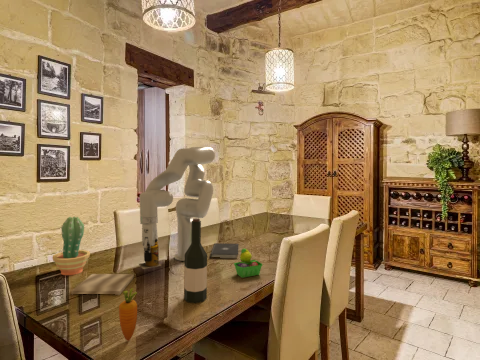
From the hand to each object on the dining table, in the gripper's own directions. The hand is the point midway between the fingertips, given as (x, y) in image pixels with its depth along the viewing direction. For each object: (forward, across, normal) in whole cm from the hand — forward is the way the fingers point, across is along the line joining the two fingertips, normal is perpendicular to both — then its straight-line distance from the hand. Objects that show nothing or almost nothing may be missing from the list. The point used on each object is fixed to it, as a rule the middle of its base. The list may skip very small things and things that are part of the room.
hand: (149, 258), depth 143 cm
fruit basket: (+8, -1, -44) cm, 45 cm away
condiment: (+3, 0, 0) cm, 3 cm away
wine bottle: (+7, -27, -23) cm, 36 cm away
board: (+6, -15, +15) cm, 22 cm away
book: (+9, +33, -34) cm, 48 cm away
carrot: (+5, -55, -7) cm, 56 cm away
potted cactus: (+6, +1, +36) cm, 36 cm away
